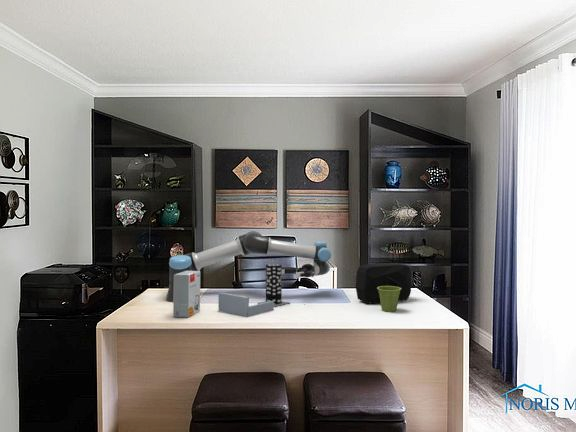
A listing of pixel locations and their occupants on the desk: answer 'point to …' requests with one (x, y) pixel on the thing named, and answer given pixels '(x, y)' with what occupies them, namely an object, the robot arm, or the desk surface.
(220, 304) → the bay
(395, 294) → the plant pot
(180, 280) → the hard drive box
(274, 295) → the spotted tube
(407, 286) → the black hard case
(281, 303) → the mat
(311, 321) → the desk surface
